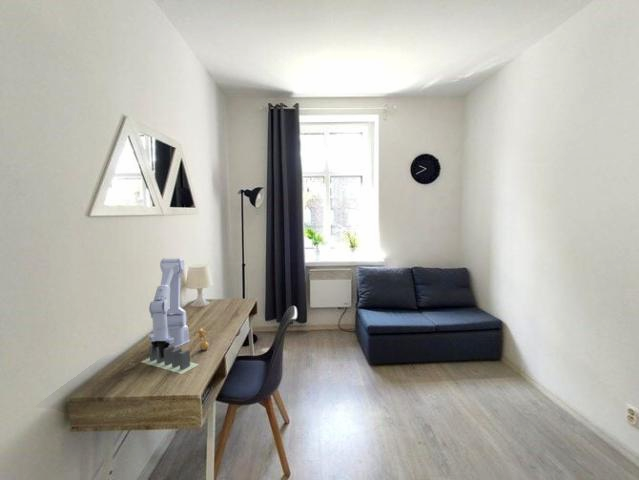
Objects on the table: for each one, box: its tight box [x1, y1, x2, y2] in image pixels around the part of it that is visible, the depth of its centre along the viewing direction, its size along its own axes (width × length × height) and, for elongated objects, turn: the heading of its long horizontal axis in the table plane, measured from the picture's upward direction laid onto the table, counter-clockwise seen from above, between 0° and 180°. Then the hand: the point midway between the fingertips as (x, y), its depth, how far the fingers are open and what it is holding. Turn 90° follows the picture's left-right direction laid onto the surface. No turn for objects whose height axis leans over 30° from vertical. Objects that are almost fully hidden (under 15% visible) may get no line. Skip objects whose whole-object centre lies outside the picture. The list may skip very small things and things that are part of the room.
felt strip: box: [141, 357, 199, 375], centre depth 137 cm, size 9×26×1 cm, turn 64°
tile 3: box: [164, 346, 175, 365], centre depth 136 cm, size 2×4×7 cm, turn 154°
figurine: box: [193, 327, 211, 351], centre depth 149 cm, size 8×6×12 cm
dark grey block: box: [171, 347, 183, 368], centre depth 134 cm, size 2×4×7 cm, turn 154°
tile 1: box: [148, 343, 157, 361], centre depth 141 cm, size 2×4×7 cm, turn 154°
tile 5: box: [179, 349, 191, 370], centre depth 132 cm, size 2×4×7 cm, turn 154°
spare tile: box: [156, 347, 164, 363], centre depth 138 cm, size 2×4×7 cm, turn 154°
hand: (161, 356), depth 139 cm, fingers closed on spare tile, 2 cm apart
